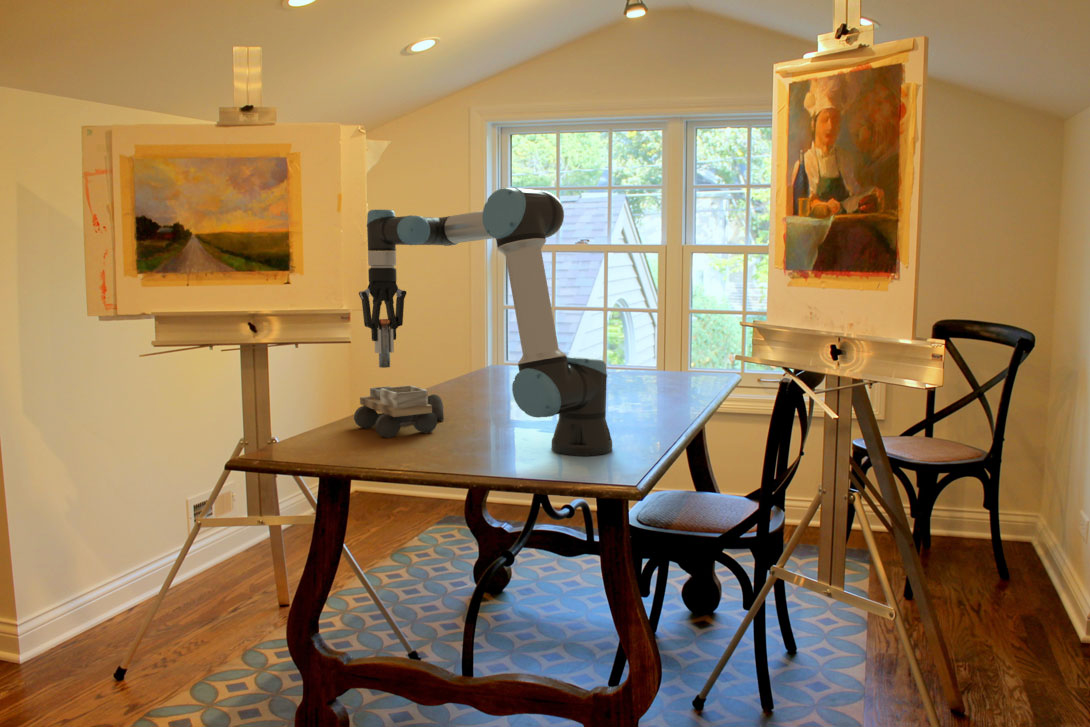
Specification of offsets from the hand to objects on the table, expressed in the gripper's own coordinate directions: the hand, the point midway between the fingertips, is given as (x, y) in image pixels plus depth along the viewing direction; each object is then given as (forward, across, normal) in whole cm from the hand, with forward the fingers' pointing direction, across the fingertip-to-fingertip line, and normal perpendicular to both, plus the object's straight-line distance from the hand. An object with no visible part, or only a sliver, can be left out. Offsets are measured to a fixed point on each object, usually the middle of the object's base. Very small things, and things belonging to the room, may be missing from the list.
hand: (384, 352), depth 242 cm
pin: (+4, 0, 0) cm, 4 cm away
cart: (+21, 0, +6) cm, 22 cm away
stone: (+21, -15, -2) cm, 26 cm away
